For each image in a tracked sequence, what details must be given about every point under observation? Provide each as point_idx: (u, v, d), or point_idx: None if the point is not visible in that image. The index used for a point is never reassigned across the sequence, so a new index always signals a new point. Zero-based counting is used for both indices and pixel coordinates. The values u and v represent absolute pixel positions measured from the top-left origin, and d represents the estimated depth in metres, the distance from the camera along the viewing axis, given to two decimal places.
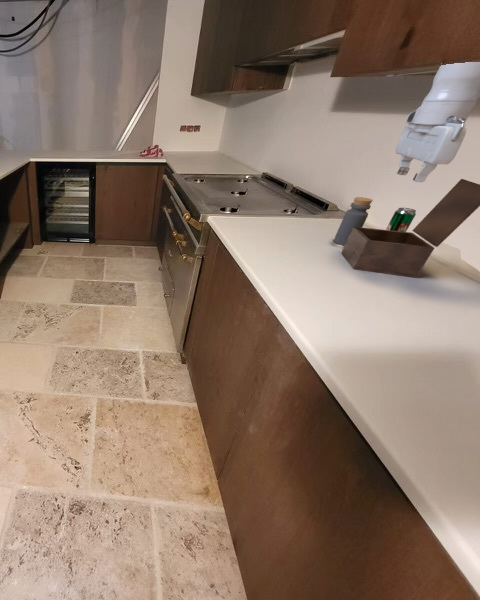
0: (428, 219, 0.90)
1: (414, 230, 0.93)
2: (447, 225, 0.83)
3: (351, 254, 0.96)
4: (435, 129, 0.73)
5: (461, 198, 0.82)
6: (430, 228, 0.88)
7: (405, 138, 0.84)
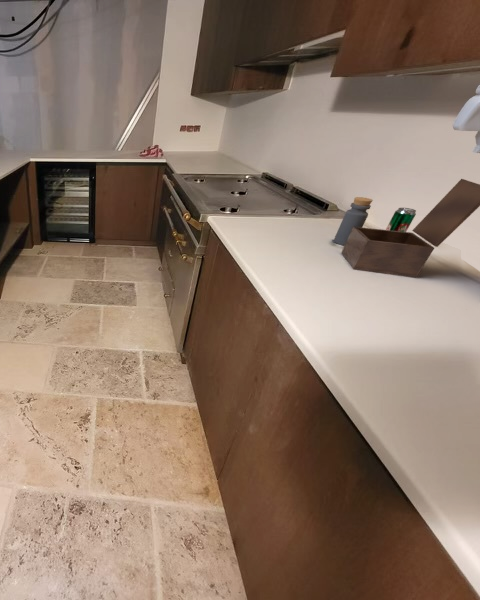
0: (428, 219, 0.90)
1: (414, 230, 0.93)
2: (447, 225, 0.83)
3: (351, 254, 0.96)
4: None
5: (461, 198, 0.82)
6: (430, 228, 0.88)
7: None
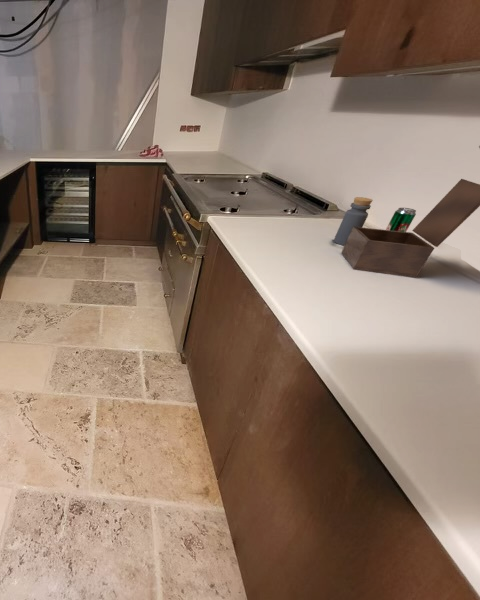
0: (428, 219, 0.90)
1: (414, 230, 0.93)
2: (447, 225, 0.83)
3: (351, 254, 0.96)
4: None
5: (461, 198, 0.82)
6: (430, 228, 0.88)
7: None
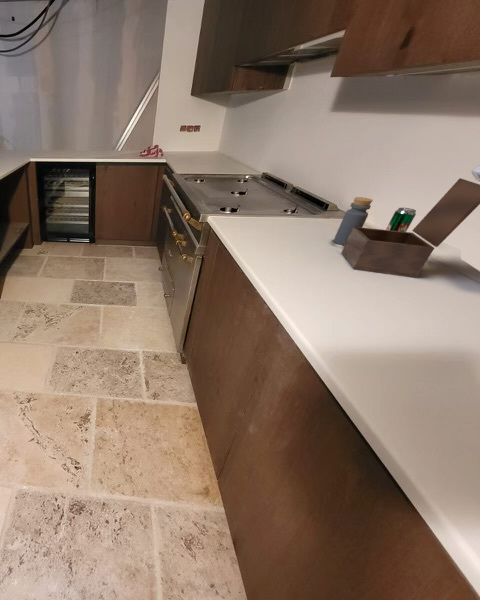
0: (428, 219, 0.90)
1: (414, 230, 0.93)
2: (446, 225, 0.83)
3: (351, 254, 0.96)
4: None
5: (460, 198, 0.82)
6: (430, 228, 0.88)
7: None
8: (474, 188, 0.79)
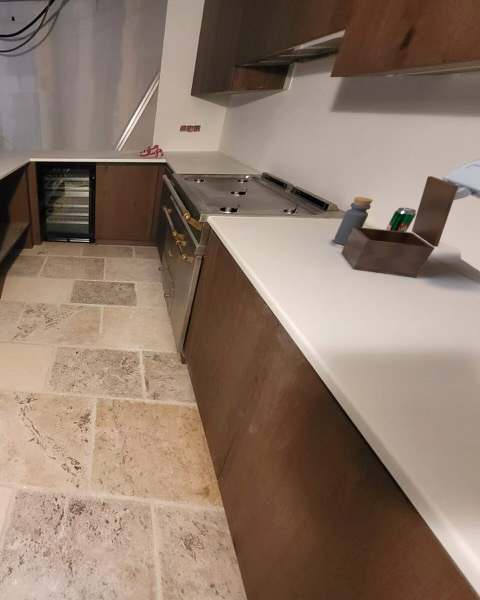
0: (419, 219, 0.90)
1: (413, 231, 0.93)
2: (435, 224, 0.83)
3: (351, 254, 0.96)
4: None
5: (435, 197, 0.84)
6: (424, 228, 0.88)
7: None
8: (442, 186, 0.81)
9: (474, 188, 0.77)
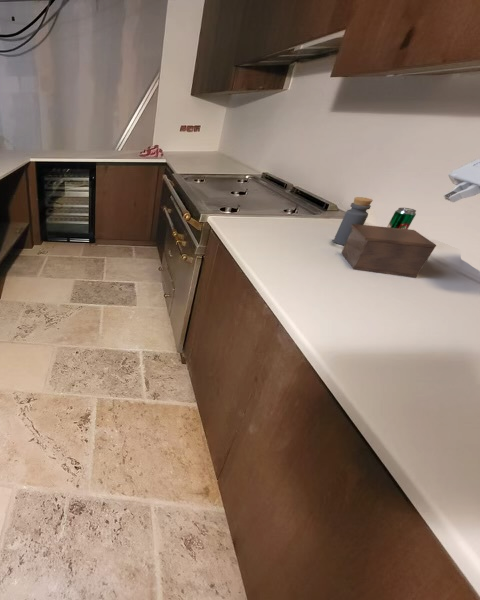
0: None
1: None
2: None
3: (351, 254, 0.96)
4: None
5: None
6: None
7: None
8: None
9: None
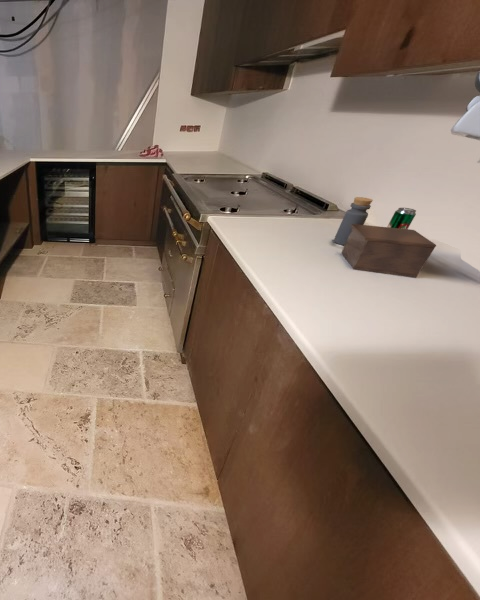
0: None
1: None
2: None
3: (351, 254, 0.96)
4: None
5: None
6: None
7: None
8: None
9: None
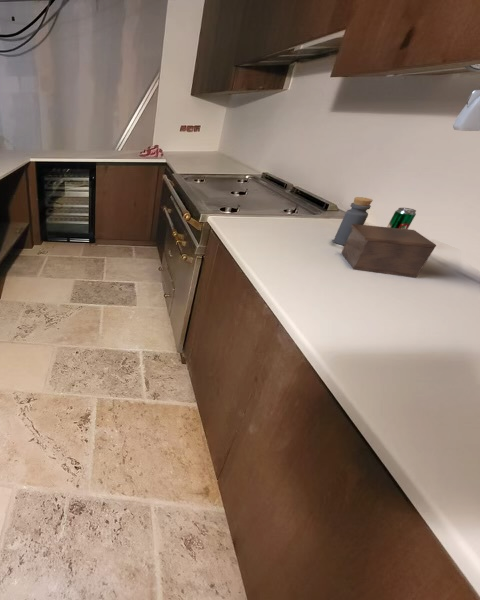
0: None
1: None
2: None
3: (351, 254, 0.96)
4: None
5: None
6: None
7: None
8: None
9: None
